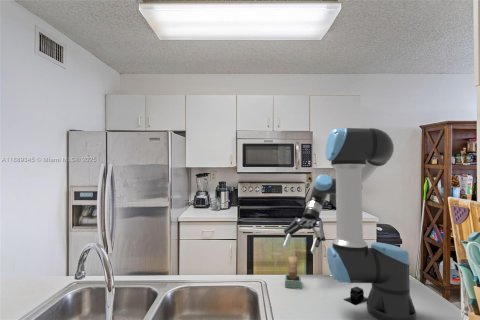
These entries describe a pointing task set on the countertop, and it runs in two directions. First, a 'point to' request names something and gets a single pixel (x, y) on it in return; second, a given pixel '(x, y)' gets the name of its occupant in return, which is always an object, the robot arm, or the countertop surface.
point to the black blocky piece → (356, 296)
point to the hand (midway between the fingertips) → (298, 249)
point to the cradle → (292, 282)
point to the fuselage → (293, 268)
